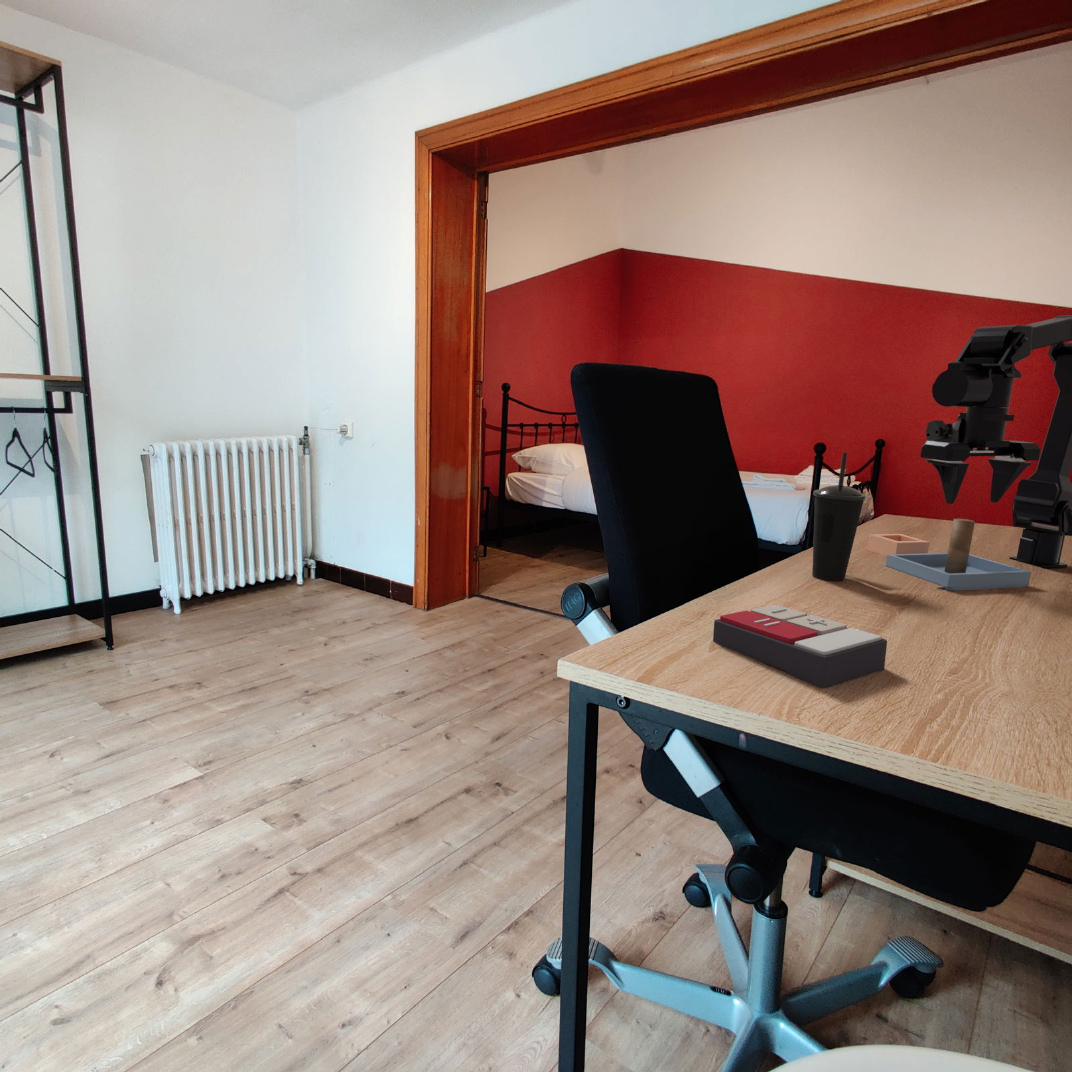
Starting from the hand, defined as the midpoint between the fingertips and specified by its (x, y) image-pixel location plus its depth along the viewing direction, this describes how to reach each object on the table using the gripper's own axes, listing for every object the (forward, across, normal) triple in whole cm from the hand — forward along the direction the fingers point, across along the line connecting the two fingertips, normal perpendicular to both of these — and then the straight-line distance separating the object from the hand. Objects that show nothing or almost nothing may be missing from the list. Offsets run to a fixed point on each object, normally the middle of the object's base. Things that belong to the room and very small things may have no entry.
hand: (971, 503), depth 116 cm
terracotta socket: (+12, +2, -12) cm, 17 cm away
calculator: (+12, +52, +27) cm, 60 cm away
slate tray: (+12, +3, +2) cm, 13 cm away
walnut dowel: (+11, +3, +2) cm, 12 cm away
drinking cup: (+12, +25, -1) cm, 28 cm away
